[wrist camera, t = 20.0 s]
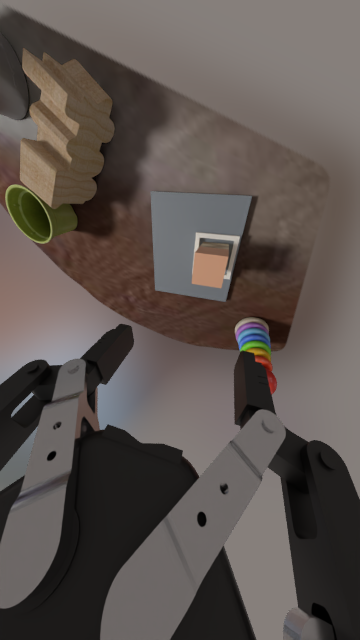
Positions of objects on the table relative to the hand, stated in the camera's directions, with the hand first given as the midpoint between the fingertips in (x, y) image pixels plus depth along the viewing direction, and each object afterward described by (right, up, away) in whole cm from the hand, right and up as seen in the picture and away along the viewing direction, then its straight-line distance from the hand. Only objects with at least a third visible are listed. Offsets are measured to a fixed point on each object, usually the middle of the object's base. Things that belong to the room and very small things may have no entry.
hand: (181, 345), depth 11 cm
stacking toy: (+19, 0, +30) cm, 35 cm away
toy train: (-17, +33, +18) cm, 41 cm away
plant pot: (-27, +27, +26) cm, 46 cm away
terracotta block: (+6, +12, +17) cm, 22 cm away
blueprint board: (+3, +17, +23) cm, 28 cm away
